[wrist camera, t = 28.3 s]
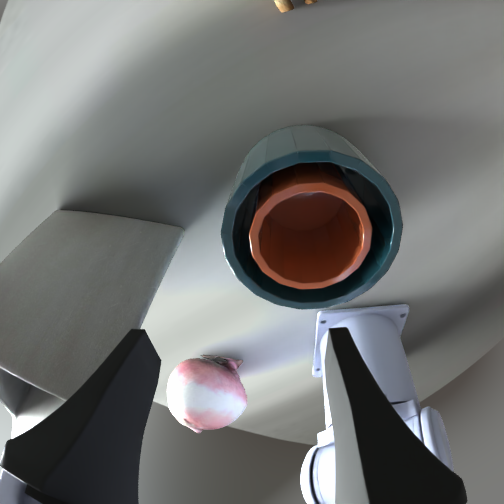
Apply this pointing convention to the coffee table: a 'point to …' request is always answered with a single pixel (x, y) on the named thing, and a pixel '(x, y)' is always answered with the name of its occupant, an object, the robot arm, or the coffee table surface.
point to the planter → (73, 303)
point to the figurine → (289, 4)
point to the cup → (309, 226)
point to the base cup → (364, 183)
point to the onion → (206, 393)
